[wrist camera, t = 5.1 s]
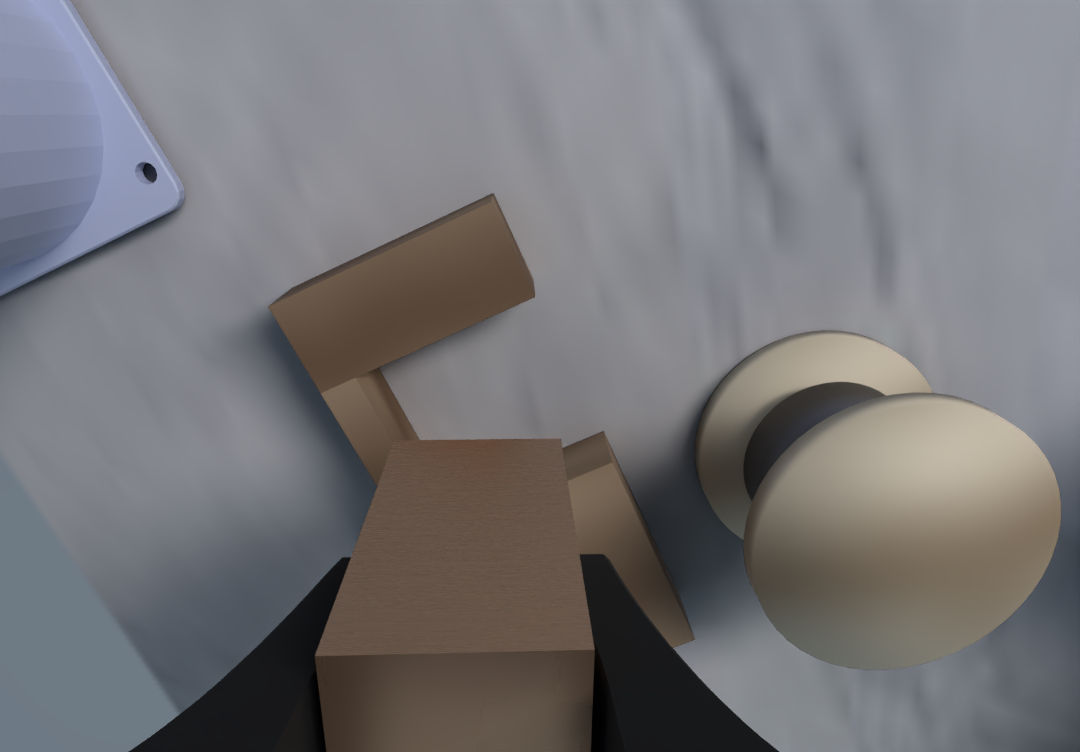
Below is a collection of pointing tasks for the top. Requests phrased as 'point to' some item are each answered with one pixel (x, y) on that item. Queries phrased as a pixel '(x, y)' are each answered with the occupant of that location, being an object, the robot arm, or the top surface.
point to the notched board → (430, 315)
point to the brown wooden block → (462, 608)
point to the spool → (873, 501)
